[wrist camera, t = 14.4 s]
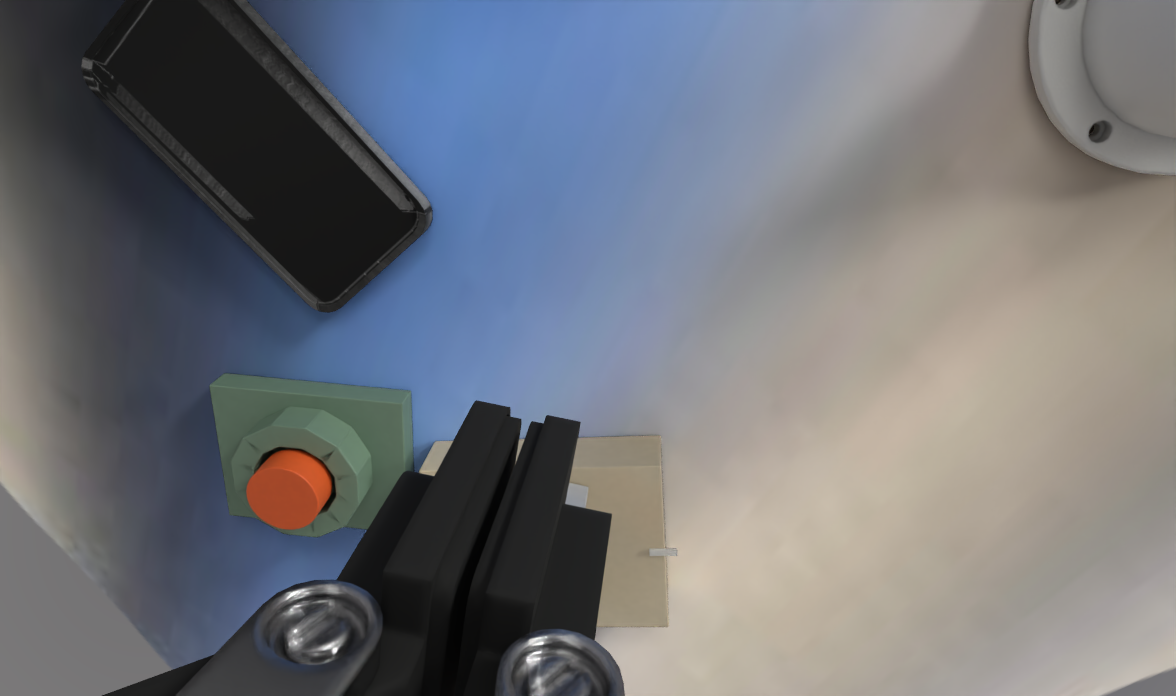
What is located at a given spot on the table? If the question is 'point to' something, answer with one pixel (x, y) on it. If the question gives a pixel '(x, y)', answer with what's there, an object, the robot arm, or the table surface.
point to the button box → (315, 441)
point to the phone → (258, 141)
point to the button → (289, 489)
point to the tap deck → (620, 522)
